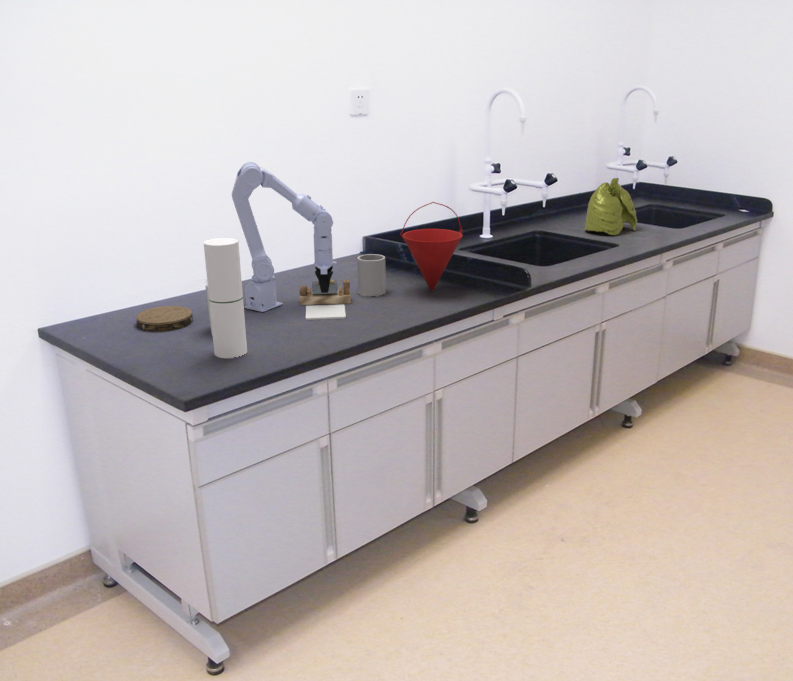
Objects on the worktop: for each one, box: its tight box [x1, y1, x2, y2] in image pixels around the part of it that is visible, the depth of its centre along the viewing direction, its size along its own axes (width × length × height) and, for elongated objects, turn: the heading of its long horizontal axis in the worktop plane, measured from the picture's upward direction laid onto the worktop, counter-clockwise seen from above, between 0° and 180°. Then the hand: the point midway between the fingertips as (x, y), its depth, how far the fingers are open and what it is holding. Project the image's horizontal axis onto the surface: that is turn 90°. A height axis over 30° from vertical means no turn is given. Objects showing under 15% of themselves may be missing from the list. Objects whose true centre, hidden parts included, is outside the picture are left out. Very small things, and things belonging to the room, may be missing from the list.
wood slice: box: [136, 305, 194, 333], centre depth 224 cm, size 16×16×3 cm
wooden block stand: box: [298, 279, 352, 306], centre depth 242 cm, size 16×6×6 cm, turn 95°
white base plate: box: [305, 304, 347, 321], centre depth 232 cm, size 12×12×1 cm
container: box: [203, 237, 248, 359], centre depth 196 cm, size 9×9×30 cm
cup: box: [356, 253, 387, 297], centre depth 250 cm, size 9×9×12 cm
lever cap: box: [311, 279, 339, 294], centre depth 242 cm, size 8×4×4 cm, turn 96°
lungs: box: [584, 177, 638, 236], centre depth 334 cm, size 25×16×24 cm, turn 127°
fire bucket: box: [399, 201, 464, 292], centre depth 248 cm, size 22×20×30 cm
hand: (324, 290), depth 242 cm, fingers closed on lever cap, 4 cm apart
